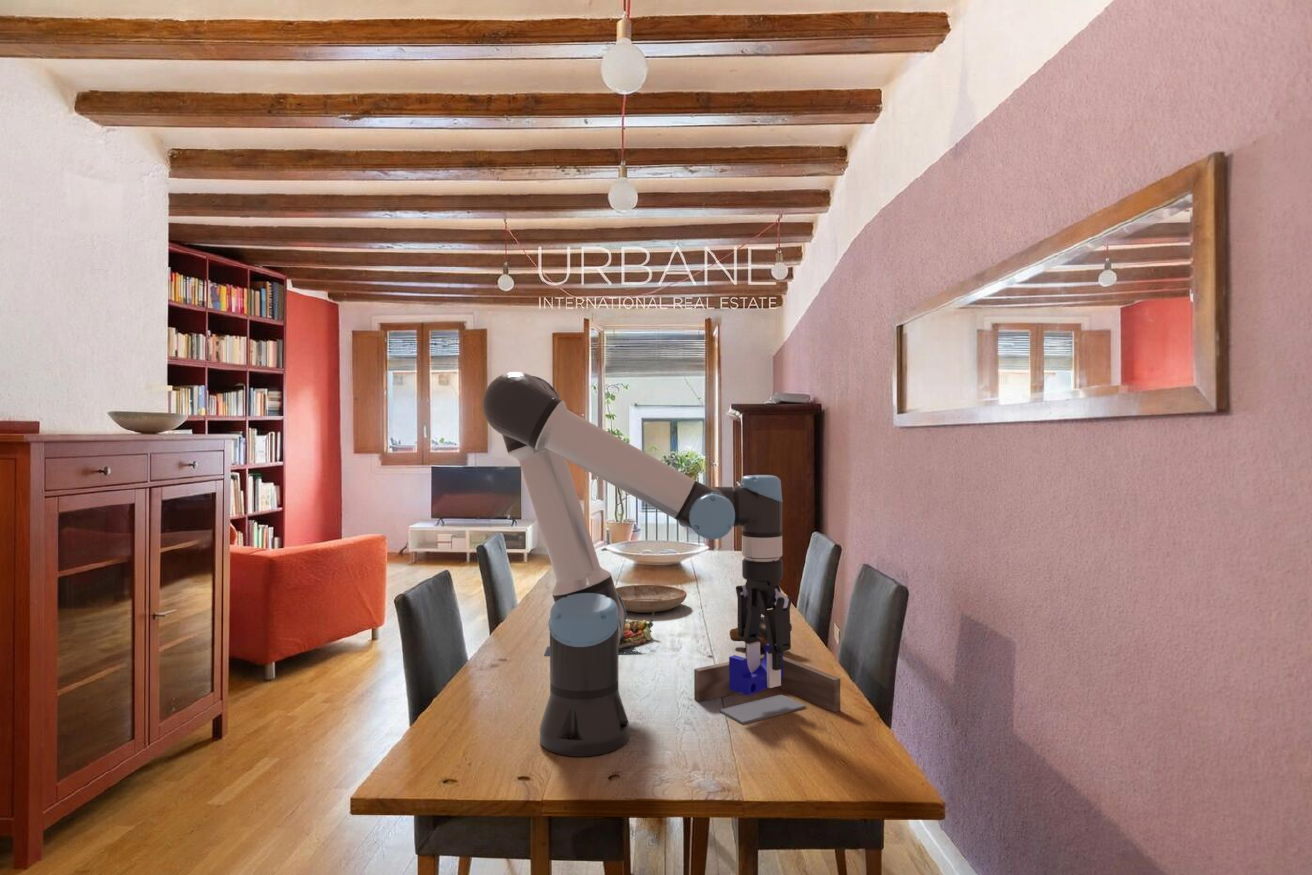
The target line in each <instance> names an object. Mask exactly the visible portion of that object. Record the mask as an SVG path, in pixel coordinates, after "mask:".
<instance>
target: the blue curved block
mask: <svg viewBox="0 0 1312 875" xmlns="http://www.w3.org/2000/svg"><path fill="white" fill-rule="evenodd" d="M775 645H776V644H775ZM767 650H770V648H769V644H766V646H765V650H764V654H763V655H764V657H763V660H762V662H761V664H760V666H759V667H758V668H757V669H756V670H755V671H754V672H753V673H751V672H750V670H749V668H748V664H747V658H746V657H743V656H739V655H736V654H733V655H729V657H728V662H729V682H730V690H733V691H736V692H739V693H738V694H742V695H745V696H752V695H754V694H757V693H759V692H762V691H763V690H764V691H765V690H766V689H769V688H768V687H767ZM783 656H784V651H783V652H782V669H781V678H783Z"/></svg>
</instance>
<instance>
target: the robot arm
mask: <svg viewBox="0 0 1312 875" xmlns="http://www.w3.org/2000/svg"><path fill="white" fill-rule="evenodd" d="M567 408H568V407H567V405H566V402H565V400H563V399H561V398H560V397H559V393H558V392H557V391H556V390H555V387H553V386H552V385H551V384H550V383H549V382H547V381H546V380H544V379H543V378H541V377H539V376H534V375H531V374H528V373H526V372H521V371H511V372H507V373H503V374H501V375H498V376H497V377H495V379H494V380H492V381H491V382H490V384H488V386H487V387H486V389H485V392H484V394H483V399H482V411H483V415H484V417H485V420H486V421H487V423H488V424H489V425H490V427H491V428H492V429H493V430H495V431H496V432H497V433H499V434H500V435H501V436H502V438H503V442H504V444H505V449H506V452H507V455H509V456H511V457H512V458H515V459H516V460H517V461H518V462H519V465H520V468H521V471H522V474H523V475H522V476H523V478H524V482H525V484H526V487H527V491H528V494H529V497H530V501H531V504H532V506H533V510H534V512H535V516H536V517H535V518H536V520H537V522H538V526H539V530H540V533H541V535H542V538H543V542H544V545H545V548H546V551H547V554H548V557H549V561H550V564H551V567H552V572H553V574H554V577H555V580H556V582H555V585H554V587H553V589H552V591H551V594H552V597H553V602H554V603H553V604H552V606H551V608H550V612H549V618H548V629H549V646H550V656H549V681H550V682H549V696H548V697H549V698H548V700H547V703H546V706H545V709H544V713H543V716H542V719H541V723H540V726H539V743H540V745H541V746H542V747H543V748H544V749H545V750H547V751H549V752H552V753H554V754H558V755H561V756H568V757H591V756H598V755H599V756H600V755H603V754H607V753H610V752H613V751H615V750H618V749H619V748H622V747H623V746H624V745H625V744H626V743H627V742H628V740H629V739H630V724H629V719H628V716H627V714H626V710H625V707H624V704H623V701H622V698H621V694H620V691H619V687H620V686H619V655H618V650H619V642H620V638H621V635H622V632H623V630H624V627H625V623H626V621H627V617H626V613H627V611H626V610H625V606H624V603H623V601H622V599H621V597H620V596H619V594H618V593H617V592H616V589H615V588H616V586H615V583H614V580H613V577H612V573H611V572H610V571H608V570H607V569H605V568H602V567H601V566H600V562H599V559H598V555H597V552H596V549H595V546H594V542H593V540H592V539H593V538H592V537H591V534H590V530H589V526H588V524H587V520H586V518H585V514H584V511H583V507H582V505H581V501H580V498H579V495H578V492H577V489H576V486H575V482H574V478H573V476H572V472H571V470H570V466H569V463H568V461H569V462H570V463H571V464H573V465H576V466H577V467H579V468H581V469H583V470H585V471H586V472H588V473H590V474H593V475H594V476H596V477H597V478H600V479H601V480H603V481H605V482H607V483H608V484H610V485H612V486H613V487H616V488H618V489H619V490H621V491H624V492H625V493H627V494H629V495H630V496H632V497H634V498H636V499H638V500H640V501H642V502H643V503H645V504H647V505H649V506H651V507H652V508H654V509H656V510H658V511H659V512H662V513H663V514H665V515H668V516H669V517H670V518H673V519H674V520H676V521H677V522H678V524H679V525H680V526H681V527H682V528H683V527H684V528H685V527H686V528H687V527H689V528H690V529H692V530H693V531H694V532H695V534H696V535H698V536H700V537H702V538H704V539H707V540H718V539H721V538H724V537H725V536H726V535H728V534H729V532H730V531H731V530H732V529H733V528H734V527H736V528H737V527H741V555H742V557H743V559H742V560H741V561H742V562H741V565H742V566H741V570H742V571H741V572H742V574H741V575H742V578H743V579H744V580H745V581H746V582H745V584H742V585H737V586H735V592H736V596H737V628H738V632H737V633H738V636H739V637H742V638H743V640H744V641H743V642H744V644H745V646H744V647H745V651H744V653H745V655H744V656H745V658H747V664H748V668H749V670H750V672H751V673H753V672H754V671H755V670H756V669H757V668H758V667H759V666H760V655H761V647H760V642H755V641H757V640H760V638H759V637H758V631H759V625H760V619H761V617H762V616H763V617H764V619H765V625H766V631H767V636H768V642H769V648H770V650H767V687H768V688H767V689H772V688H775V687H777V686H781V669H782V652H783V653H784V652H785V651H790V650H791V649H792V645H791V644H792V643H791V642H792V640H791V638H792V637H791V631H790V623H791V605H792V602H793V598H792V596H790V595H787V596H785V595H784V594H783V593H782V590H781V587H780V581H781V580H782V579H783V577H784V568H783V567H784V566H783V565H784V561H783V560H782V558H781V557H782V556H783V501H784V500H783V496H782V494H783V493H782V481H781V479H780V478H779V477H778V476H776V475H771V474H754V475H753V474H752V475H751V474H750V475H747V474H746V475H744V476H742V477H741V482H740V485H736V486H734V485H733V486H706V485H705V484H703V483H701V482H700V481H697V480H695V478H692V477H690V476H688V475H686V474H685V473H683V472H681V471H680V470H678V469H675V467H672V466H671V465H669V464H667V463H666V462H663V461H662V460H660V459H658V458H655V457H654V456H652V455H650V454H648V453H646V452H645V451H643V450H641V449H639V448H638V447H636V446H634V445H632V444H630V443H629V442H627V441H625V440H622V438H619V437H618V436H616V435H614V434H612V433H610V432H609V431H607V430H605V429H603V428H602V427H599V426H598V425H596V424H594V423H592V422H590V421H588V420H587V419H585V418H583V417H581V416H579V415H578V414H576V413H574V412H572V411H570V410H569V409H567ZM744 628H745V630H743V629H744ZM775 644H776V645H775Z"/></svg>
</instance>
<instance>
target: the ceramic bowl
mask: <svg viewBox="0 0 1312 875" xmlns="http://www.w3.org/2000/svg"><path fill="white" fill-rule="evenodd" d="M615 589H616V592H617V593H618V594H619V596H620V597H621V599H622V601H623V603H624V606H625V610H626V612H632V613H640V614H646V613H647V614H650V613H651V614H653V612H654V613H658V612H660V613H661V612H664V611H669V610H671V609H674V608H676V607H678V606H679V605H682V603H683V602H685V600H686V598H687V595H688V594H687V591H686V590H684V589H681V588H679V587H674V586H670V585H662V584H631V585H624V586H619V587H618V586H617V587H615Z"/></svg>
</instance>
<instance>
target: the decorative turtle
mask: <svg viewBox="0 0 1312 875" xmlns="http://www.w3.org/2000/svg"><path fill="white" fill-rule="evenodd" d="M792 625H793V624H792V623H791V622H790V632H792V630H793V629H792V628H793V627H792ZM743 630H745V628H744V629H743ZM737 632H738V627H735V628H731V629H730V630H729V638H730V640H731V641H732V642H744V640H743V638H742V637H739V636H738V633H737ZM758 637H759V638H760V640H757V641H755V642H760V648H762V649H763V651H765V646H766V644H769V642H768V636H767V631H766V625H765V619H764V616H761V619H760V625H759V631H758Z"/></svg>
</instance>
